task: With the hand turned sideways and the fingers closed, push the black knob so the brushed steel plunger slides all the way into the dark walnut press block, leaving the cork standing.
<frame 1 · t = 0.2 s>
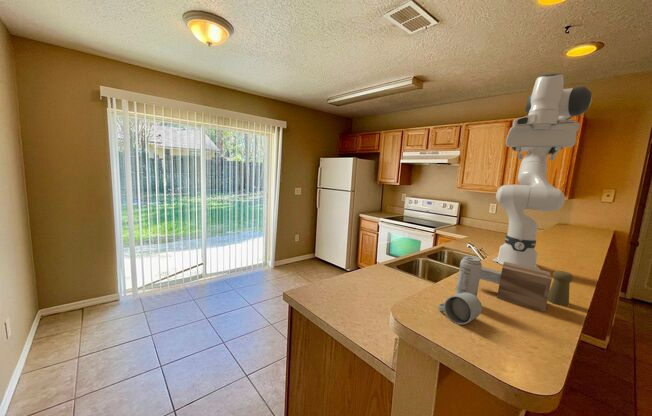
hand: (535, 159, 100), 49 cm above the counter, tool pointing down, fingers open, 8 cm apart
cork: (557, 302, 94), on the counter
press block: (518, 299, 93), on the counter
ceramic mug: (456, 317, 78), on the counter
energy drink can: (464, 303, 87), on the counter
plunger: (494, 276, 97), point 6 cm above the counter, slide at 0.0 cm
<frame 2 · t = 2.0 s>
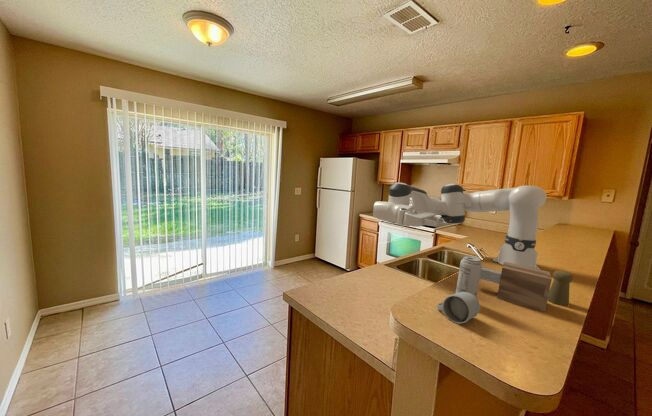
hand: (440, 222, 107), 22 cm above the counter, tool horizontal, fingers open, 8 cm apart
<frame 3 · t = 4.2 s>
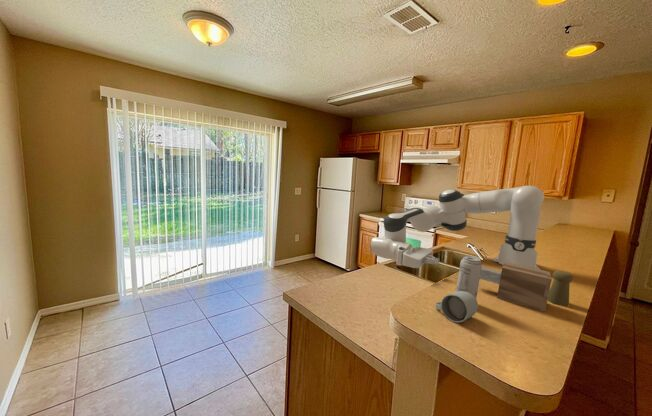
hand: (438, 261, 108), 6 cm above the counter, tool horizontal, fingers closed
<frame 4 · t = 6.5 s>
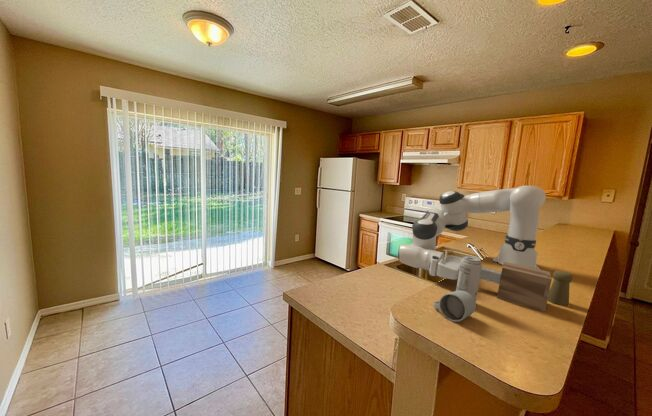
hand: (475, 272, 100), 6 cm above the counter, tool horizontal, fingers closed, pressing on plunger
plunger: (496, 276, 96), point 6 cm above the counter, slide at 0.4 cm, touching gripper
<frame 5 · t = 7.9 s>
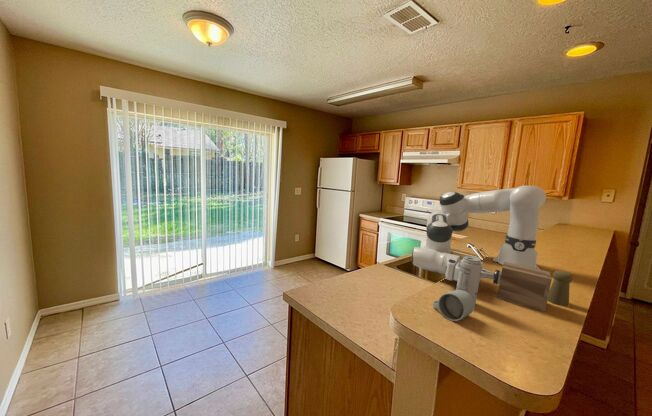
hand: (494, 276, 97), 6 cm above the counter, tool horizontal, fingers closed, pressing on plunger
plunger: (515, 281, 93), point 6 cm above the counter, slide at 6.3 cm, touching gripper
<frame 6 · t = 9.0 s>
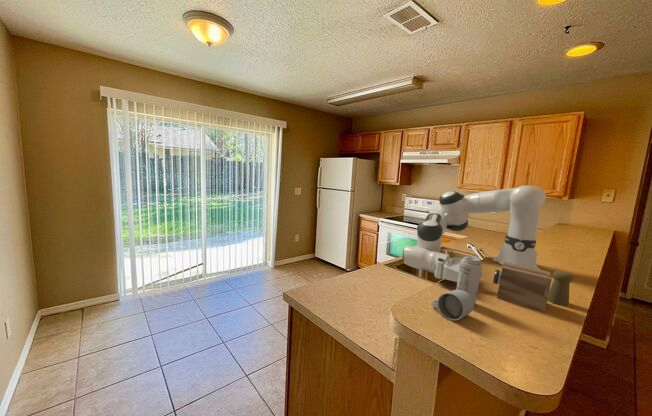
hand: (482, 274, 99), 6 cm above the counter, tool horizontal, fingers closed
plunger: (515, 281, 93), point 6 cm above the counter, slide at 6.3 cm
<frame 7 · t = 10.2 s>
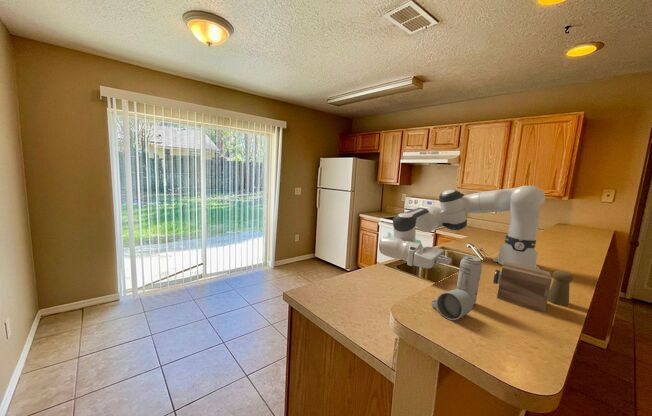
hand: (450, 261, 105), 7 cm above the counter, tool horizontal, fingers closed
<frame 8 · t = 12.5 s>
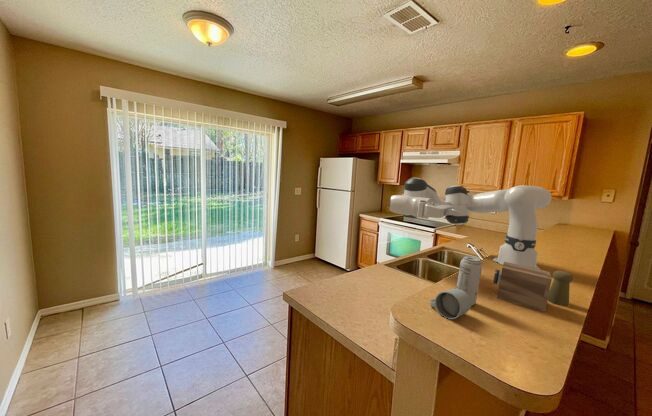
hand: (460, 213, 107), 26 cm above the counter, tool horizontal, fingers closed
at the end: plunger slide at 6.3 cm; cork tilted 0° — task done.
